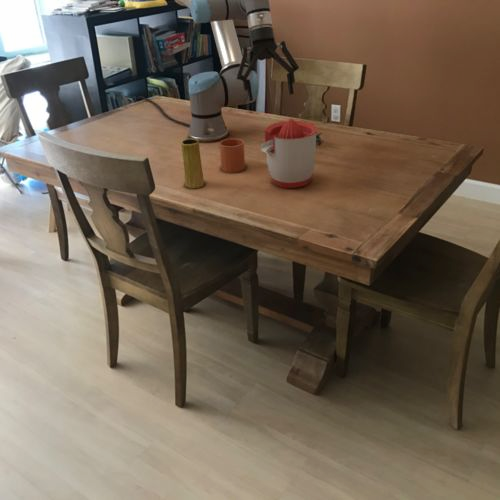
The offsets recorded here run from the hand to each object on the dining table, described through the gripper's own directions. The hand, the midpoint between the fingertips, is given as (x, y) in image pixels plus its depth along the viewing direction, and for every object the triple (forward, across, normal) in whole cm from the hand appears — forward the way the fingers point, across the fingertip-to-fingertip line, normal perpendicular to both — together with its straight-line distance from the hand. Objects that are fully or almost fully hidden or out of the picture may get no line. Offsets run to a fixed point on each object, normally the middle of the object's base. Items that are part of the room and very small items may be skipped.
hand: (271, 97), depth 168 cm
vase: (+23, -30, -6) cm, 38 cm away
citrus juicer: (+27, -1, -11) cm, 29 cm away
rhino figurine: (+18, +15, +17) cm, 29 cm away
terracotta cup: (+20, -16, +4) cm, 26 cm away
